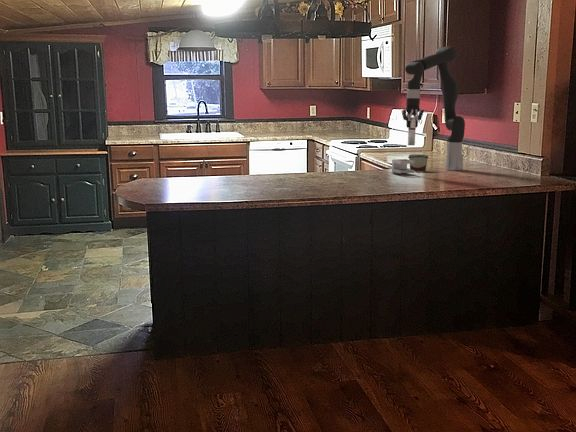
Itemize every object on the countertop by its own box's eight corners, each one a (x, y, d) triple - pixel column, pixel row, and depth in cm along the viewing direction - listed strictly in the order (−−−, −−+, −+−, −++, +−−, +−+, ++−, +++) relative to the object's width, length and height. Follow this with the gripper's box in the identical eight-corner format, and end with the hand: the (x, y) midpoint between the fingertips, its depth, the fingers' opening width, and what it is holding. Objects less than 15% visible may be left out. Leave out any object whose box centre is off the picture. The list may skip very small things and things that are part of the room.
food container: (427, 170, 404) (427, 154, 402) (428, 171, 398) (428, 155, 396) (407, 170, 405) (407, 154, 403) (407, 171, 399) (408, 155, 397)
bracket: (403, 172, 392) (404, 158, 391) (414, 175, 380) (414, 160, 378) (390, 173, 389) (390, 159, 388) (400, 176, 377) (400, 161, 376)
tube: (412, 144, 381) (413, 117, 378) (416, 145, 377) (417, 117, 374) (406, 144, 379) (407, 117, 376) (409, 145, 376) (411, 117, 373)
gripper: (420, 97, 379) (419, 127, 382) (399, 97, 374) (397, 127, 378) (427, 97, 372) (426, 127, 375) (405, 97, 367) (404, 128, 371)
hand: (411, 127), depth 376 cm, fingers closed on tube, 4 cm apart
